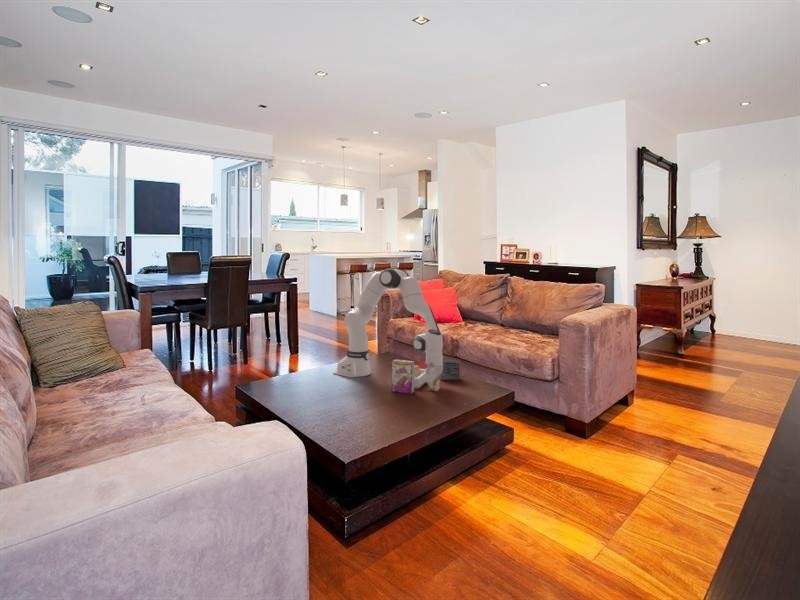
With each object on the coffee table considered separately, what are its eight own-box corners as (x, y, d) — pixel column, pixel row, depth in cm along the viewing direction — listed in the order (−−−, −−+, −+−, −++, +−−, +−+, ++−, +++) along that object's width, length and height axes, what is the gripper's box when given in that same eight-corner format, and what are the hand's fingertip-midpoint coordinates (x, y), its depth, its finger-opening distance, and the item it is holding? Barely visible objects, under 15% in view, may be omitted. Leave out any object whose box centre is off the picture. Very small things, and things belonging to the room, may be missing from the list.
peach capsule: (408, 379, 254) (409, 366, 254) (412, 376, 259) (412, 364, 258) (416, 380, 252) (417, 368, 252) (420, 377, 257) (420, 366, 256)
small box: (459, 377, 261) (459, 360, 259) (459, 381, 254) (459, 362, 253) (440, 377, 262) (440, 359, 260) (440, 380, 255) (440, 362, 254)
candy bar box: (391, 392, 235) (391, 361, 233) (394, 389, 240) (394, 358, 238) (411, 394, 231) (411, 363, 229) (414, 391, 236) (414, 360, 234)
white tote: (393, 385, 246) (393, 375, 245) (405, 376, 263) (405, 367, 262) (418, 388, 240) (418, 378, 240) (429, 379, 257) (429, 369, 257)
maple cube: (427, 390, 238) (427, 381, 238) (430, 387, 243) (430, 378, 242) (436, 391, 236) (436, 382, 236) (439, 388, 241) (439, 379, 240)
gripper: (433, 366, 227) (433, 392, 229) (445, 356, 246) (444, 381, 248) (421, 365, 229) (421, 391, 231) (434, 355, 248) (433, 380, 250)
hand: (433, 386), depth 239 cm, fingers closed on maple cube, 5 cm apart
